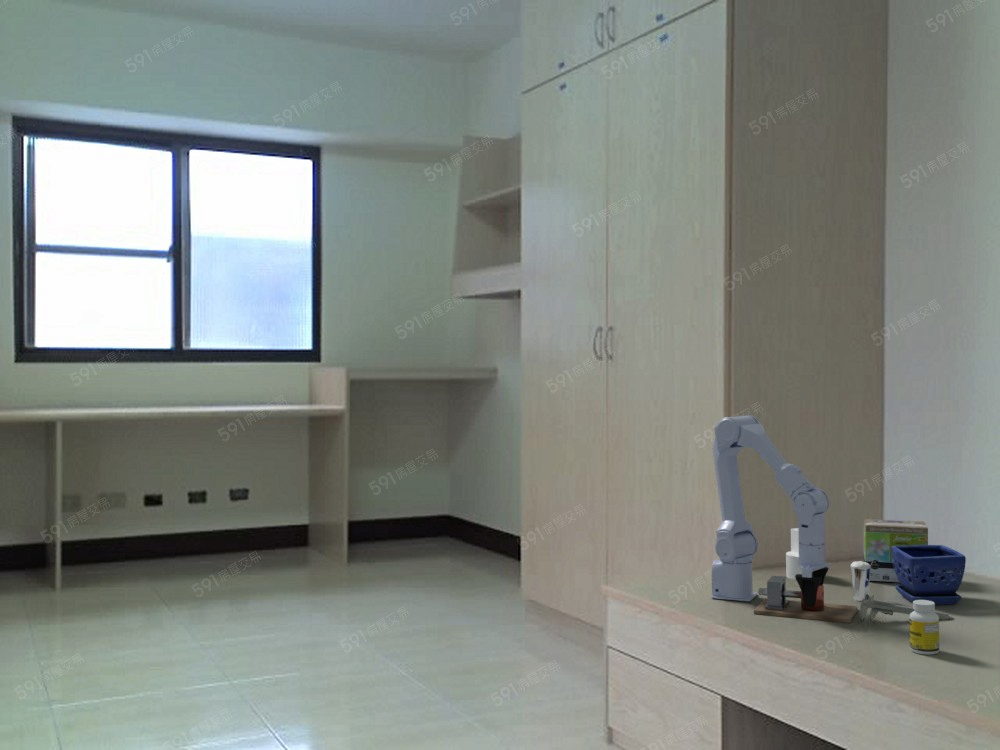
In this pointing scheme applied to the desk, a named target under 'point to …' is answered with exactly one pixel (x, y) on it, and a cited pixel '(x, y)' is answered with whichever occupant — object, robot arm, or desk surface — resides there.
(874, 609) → the caliper
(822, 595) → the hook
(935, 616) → the supplement bottle
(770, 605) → the slotted metal block
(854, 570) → the milkshake
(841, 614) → the board
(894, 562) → the flower pot
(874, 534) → the tea box
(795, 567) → the base with upright slab
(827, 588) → the desk surface
